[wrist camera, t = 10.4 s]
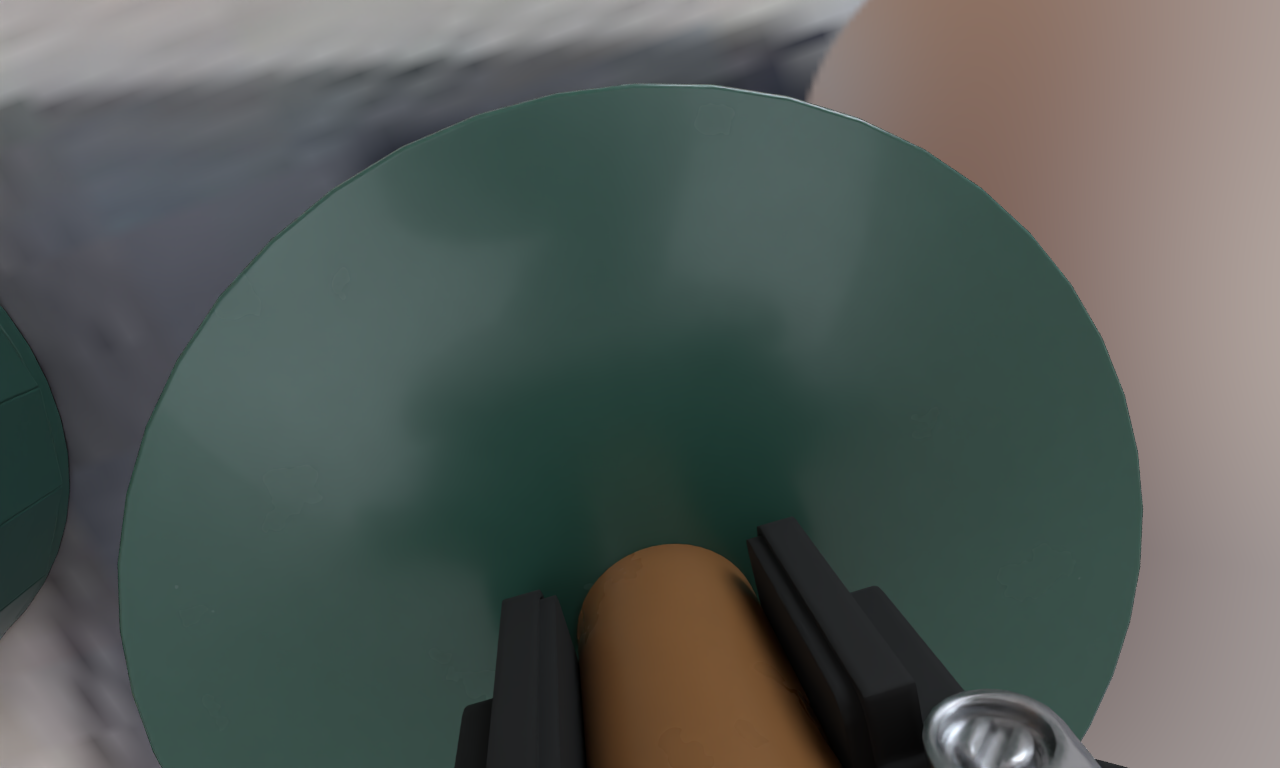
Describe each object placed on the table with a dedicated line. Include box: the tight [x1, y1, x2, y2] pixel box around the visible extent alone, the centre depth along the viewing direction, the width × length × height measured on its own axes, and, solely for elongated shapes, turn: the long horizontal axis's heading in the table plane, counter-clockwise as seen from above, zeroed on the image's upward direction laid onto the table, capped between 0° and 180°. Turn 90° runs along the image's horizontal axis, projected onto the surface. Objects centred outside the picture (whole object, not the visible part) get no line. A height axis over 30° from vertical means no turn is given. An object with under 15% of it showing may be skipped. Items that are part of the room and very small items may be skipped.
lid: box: [118, 83, 1143, 768], centre depth 10 cm, size 16×16×6 cm
